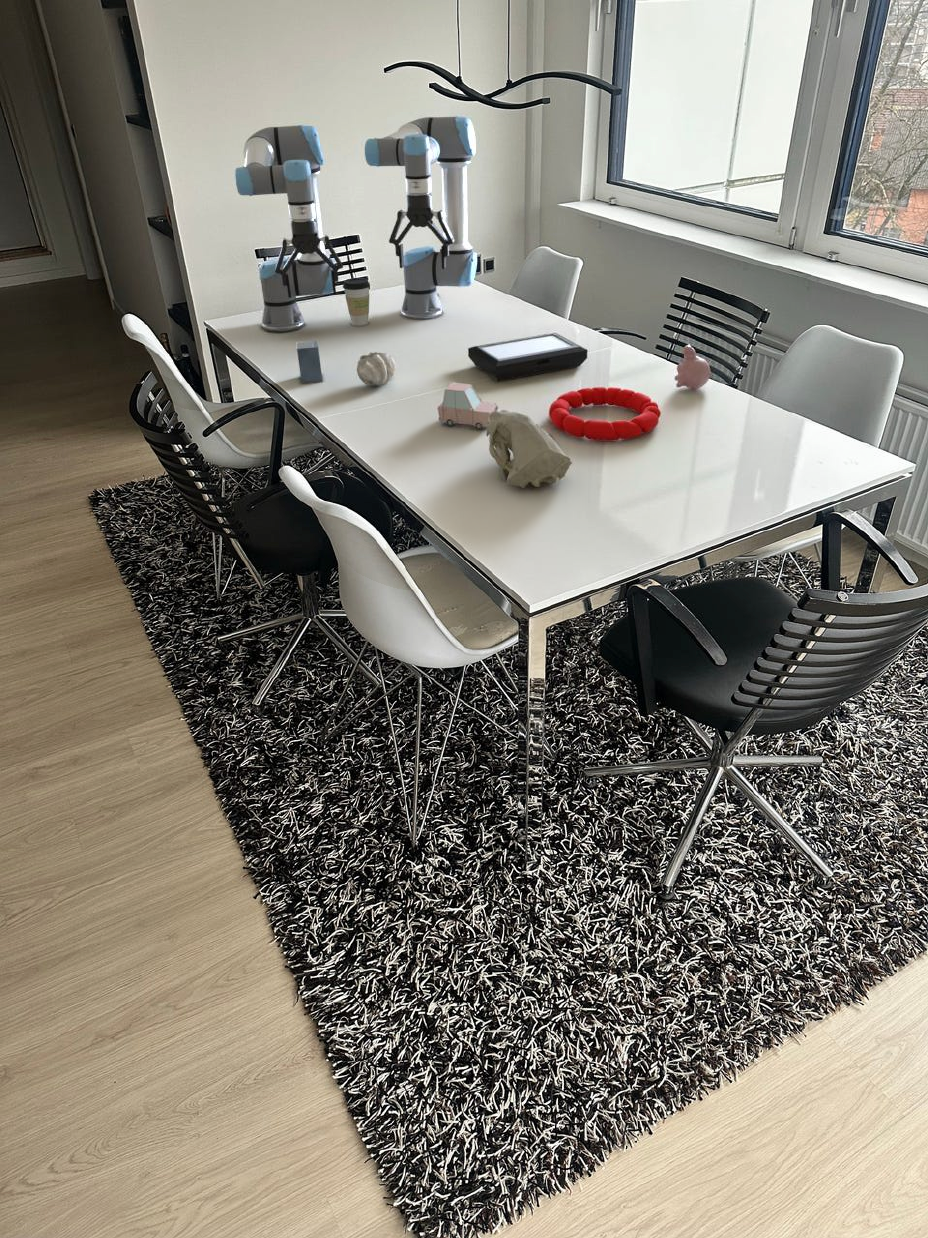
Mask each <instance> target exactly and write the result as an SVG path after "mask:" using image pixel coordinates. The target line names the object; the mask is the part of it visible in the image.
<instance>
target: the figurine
mask: <svg viewBox="0 0 928 1238" xmlns="http://www.w3.org/2000/svg"><path fill="white" fill-rule="evenodd" d="M682 354H683V358H684V359H683V361H682V362H679V363H678V364H677V365H676V372H677V375H675V376H674V381H675V382H676V381H677V382H676V384H675V386H676V388H681V387H686V388H688V389H693V390H694V389H695V390H696V389H700V388H703V387H704V386H705V385H706V384H707V383H708V382H709V379H710V377H711V367H710V364H709V362H708V361H706V359H704V358H702V357H700V356H697V353H696V350H695V349H694V347H692V345H690V344H686V345H685V346H684V347H683V348H682Z"/></svg>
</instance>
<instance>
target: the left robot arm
mask: <svg viewBox="0 0 928 1238" xmlns="http://www.w3.org/2000/svg"><path fill="white" fill-rule="evenodd" d="M243 157H244V166H240V167H236V168H235V169H234V180H235V186H236V190H237V193H238V194H239V195H240V196H249V197H253V196H264V195H276V194H277V195H281V194H286V196H287V206H288V214H289V219H290V220H291V221H290V229H291V230H290V231H291V238H285V237H283V238H282V240H281V244H282V245H281V249H280V252H279V255H278V256H277V257H273V258H270V259H267V260H265V261H263V262H261V263H260V265H259V266H258V270H259V280H260V285H261V286H260V287H261V292H262V299H263V313H262V319H261V326H262V330H264V331H265V332H271V333H286V332H293V331H296V330H297V331H298V330H300V329H302V328H304V326H305V318H304V317H303V314H302V312H301V310H300V307H299V306H298V305H299V304H298V303H297V297H305V296H306V297H307V296H323V295H330V294H332V293H333V295H337V288H336V283H339V273H338V272H339V270H342V269H343V268H344V265H343V263H342V261H341V259H340V258H339V256H338V254H337V252H336V250H335V248H333V246H332V244H331V241H330V237H329V235H327V234H326V235H324V230H323V221H322V212H321V203H320V195H319V194H320V193H319V184H318V175H319V174H320V173H321V171H322V170H321V167H322V166H324V165H325V160H324V155H323V150H322V145H321V142H320V138H319V134H318V130H317V128H316V127H315V126H313V125H304V124H303V125H302V124H301V125H300V124H299V125H287V126H268V127H265V128H261V129H260V130H258V131H256V132H254V133H253V134H252V135H250V136H249V137H248V139H246V141H245V143H244V146H243ZM290 245H292V246H293V247H294V249H293V251H292V253H291V255H290V256H285V255H286V252H287V248H289V247H290ZM325 245H326V247H327V249H328V251H329V252H328V251H327V250H326V247H325ZM331 256H332V257H333V258H331ZM335 262H336V263H335Z"/></svg>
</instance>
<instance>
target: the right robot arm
mask: <svg viewBox="0 0 928 1238" xmlns="http://www.w3.org/2000/svg"><path fill="white" fill-rule="evenodd" d="M476 147H477V143H476V133H475V128H474V126H473V122H472V121H471V119H470V118H469V117H466V116H432V117H431V116H426V117H425V116H424V117H419V118H417V119H414V120H411V121H409V122H407V123H403V124H402V125H401V126H399V128H398V129H397V131H395V132H393V133H390V134H389V135H387V136H384V137H381V138H378V137H375V138H368V139H367V140H366V141H365V144H364V159H365V162H366V164H367V165H368V166H370V167H377V168H379V167H404V173H405V190H406V191H405V192H406V193H407V195H406V207H407V209H406V210H403V209H400V210H398V211H397V215H396V221H395V223H394V227H393V229H392V230H391V231H392V232H391V234H390V236H389V239H388V243H389V244H393V245H394V247H395V248H394V249H395V256H396V257H398V263H399V269H403V278H404V279H403V280H404V298H403V301H402V306H401V316H402V317H403V318H405V319H409V320H415V321H416V320H417V321H418V320H419V321H424V320H432V319H435V318H439V317H441V316H442V315H443V307H442V304H441V301H440V299H439V298H440V295H439V293H438V292H437V287H457V288H463V287H470V286H472V285H473V283H474V280H475V277H476V272H477V266H478V254H477V252H475V251H473V246H472V245H471V243H469V240H468V239H469V238H468V237H469V235H468V231H469V230H468V228H469V227H468V174H467V173H468V172H467V171H468V169H467V168H468V166H469V165H470V164H471V162H472V157H474V156H475V155H476V152H477V151H476V150H477V148H476ZM435 163H437V165H439V166H440V168H441V192H442V193H441V195H442V209H440V210H438V211H434V209H433V197H432V196H433V195H432V193H431V192H432V175H431V165H433V164H435ZM405 218H407V219H408V221H409V222H408V223H407V224H406V226H405V227H404V229H403V230H402V232H401V233H400V235H398V232H399V230H400V228H401V225H402V222H403V220H404V219H405ZM433 218H435V219H436V220H437V221H438V224H439V226H440V227H441V229H442V231H443V232H441V230H440V229H439V227H438V226H437V225H436V224H435V222H434V220H433ZM413 227H415V228H419V227H420V228H426V227H427V228H428V229H429V230H430V231H431V232H432V233H433V234H434V236H435V237H436V238H437V239H438V240H439V241H440V243H441V245H440V246H439V251H436V249H435V247H433V246H420V247H415V248H412V249H409V250H407V251H406V252H405V253H404V244H403V243H402V241H403V240H404V238H405V237H406V236H407V234H408V233H409V232H410V230H411V229H412V228H413ZM397 235H398V236H397ZM396 238H397V239H396Z"/></svg>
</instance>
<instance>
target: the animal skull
mask: <svg viewBox="0 0 928 1238" xmlns="http://www.w3.org/2000/svg"><path fill="white" fill-rule="evenodd" d="M485 436H486V438H487V437H489V438H488V440H489V444H488V445H489V446H488V450H489V454H490V456H491V457H492V458H493V459H494V460H495V462H496V464H497V466H499V468H500V470H501V471H502V472H501V478H502V479H507V480H506V484H507V486H517V487H518V486H519V488H523V489H524V488H526V486H527V485H529V483H531V485H533V486H534V487H536V488H540V485H541V484H542V482H544V483H549V484H550V485H553V484H555V483H556V482H557V480H561V479H563V478H565V476H566V474H567V472H568V471H569V469H570V467H571V466H572V464H573V462H572V461H571V458H570V457H568V456H567V455H565V453H564V451H562V449H561V448H560V446H559V444H557V443H556V439H555V438H554V436H553V435H551V434H550V433H548V432H547V431H546V430H545V429H544V428H542V427H541V426H539V425H538V424H537V423H536V424H535V422H534V421H533V419H532V418H531V417H530V416H529V415H527V414H524V413H519V412H515V411H509V410H507V409H502V410H500V411H499V410H497V411H496V412H492V413H491V414H490V422H488V423H487V427H486V435H485ZM511 453H512V454H511ZM511 455H512V457H513V458H512V460H511ZM507 474H508V475H507Z"/></svg>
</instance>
